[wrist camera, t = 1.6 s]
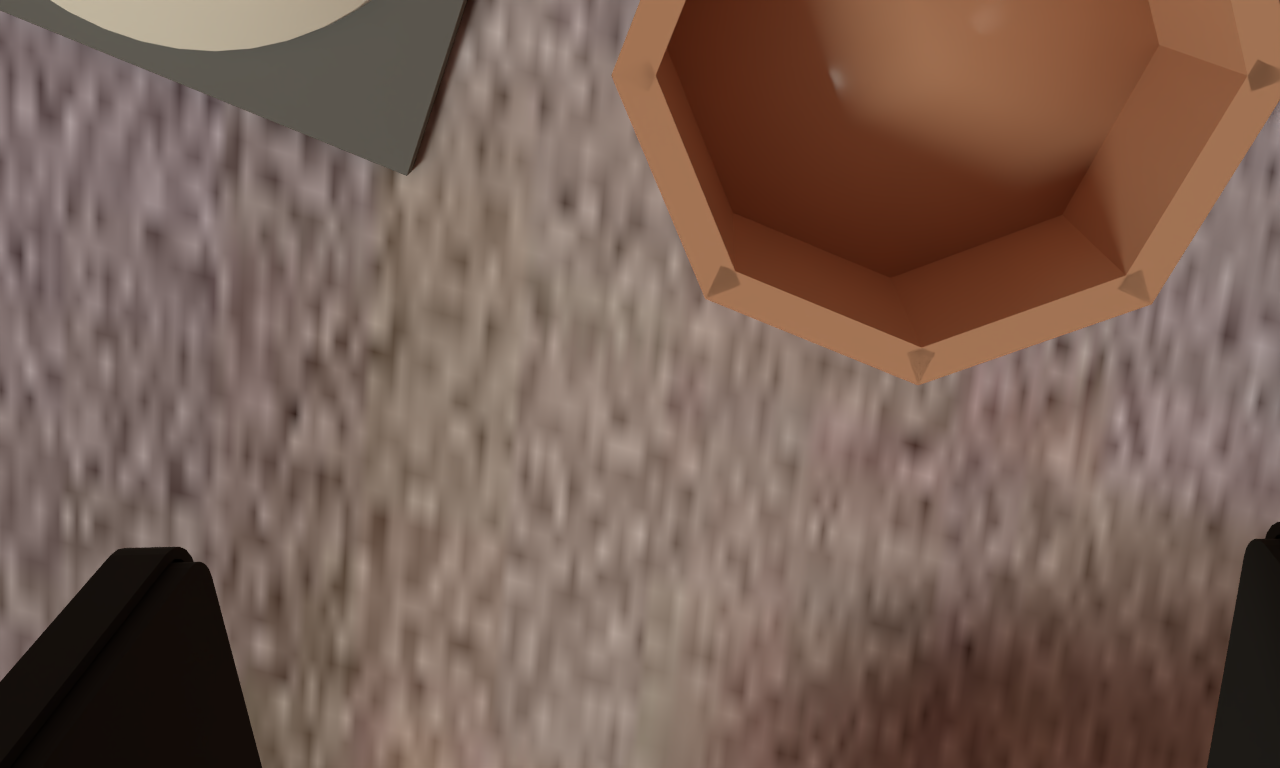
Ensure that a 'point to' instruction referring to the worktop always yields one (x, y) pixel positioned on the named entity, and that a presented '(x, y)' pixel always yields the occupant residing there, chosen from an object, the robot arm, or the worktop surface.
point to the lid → (212, 20)
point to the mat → (309, 72)
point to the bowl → (943, 158)
